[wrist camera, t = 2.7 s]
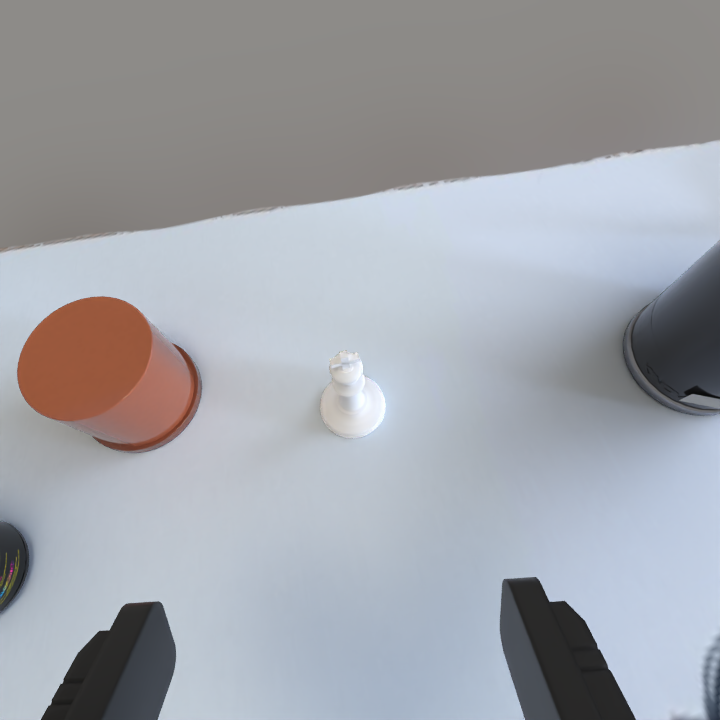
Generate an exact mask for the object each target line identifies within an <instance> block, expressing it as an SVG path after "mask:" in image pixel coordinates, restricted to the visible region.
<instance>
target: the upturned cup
mask: <svg viewBox="0 0 720 720" xmlns="http://www.w3.org/2000/svg"><path fill="white" fill-rule="evenodd" d="M17 377H18V384H19V388H20V390H21V393H22V395H23V397H24V399H25V400H26V402H27V403H28V404H29V405H30V406H31V407H32V408H33V409H34V410H35V411H36V412H38V413H40V414H41V415H43V416H45V417H48V418H50V419H53V420H55V421H58V422H60V423H62V424H65V425H67V426H70V427H72V428H74V429H77V430H79V431H82V432H84V433H86V434H89V435H91V436H92V437H93V438H94V439H95V440H97V441H98V442H99V443H101V444H103V445H104V446H106V447H109V448H111V449H114V450H117V451H121V452H126V453H140V452H146V451H150V450H153V449H156V448H158V447H161V446H163V445H165V444H166V443H168V442H170V441H171V440H173V439H174V438H175V437H177V436H178V435H179V434H180V433H181V432H182V431H183V430H184V429H185V428H186V426H187V425H188V424H189V423H190V421H191V420H192V418H193V416H194V414H195V413H196V411H197V408H198V405H199V402H200V398H201V390H202V386H201V377H200V373H199V371H198V368H197V366H196V364H195V362H194V361H193V360H192V358H191V357H190V356H189V355H188V354H187V353H186V352H185V351H184V350H183V349H181V348H180V347H179V346H177V345H175V344H173V343H171V342H170V341H169V340H168V339H167V338H166V337H165V336H164V335H163V334H162V333H161V332H160V331H159V330H158V329H157V328H156V327H155V326H154V325H153V324H152V323H151V322H150V321H149V320H148V319H147V318H146V317H145V316H144V315H143V314H142V313H141V312H140V311H139V310H138V309H137V308H136V307H134V306H133V305H131V304H129V303H127V302H125V301H123V300H120V299H117V298H111V297H90V298H84V299H80V300H77V301H74V302H71V303H69V304H67V305H65V306H63V307H61V308H59V309H57V310H56V311H54V312H53V313H51V314H50V315H49V316H48V317H46V318H45V319H44V320H43V321H42V322H41V323H40V324H39V325H38V326H37V327H36V328H35V329H34V331H33V332H32V333H31V335H30V336H29V338H28V339H27V341H26V343H25V345H24V347H23V349H22V352H21V354H20V358H19V362H18V369H17Z"/></svg>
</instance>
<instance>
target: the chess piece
mask: <svg viewBox="0 0 720 720" xmlns="http://www.w3.org/2000/svg"><path fill="white" fill-rule="evenodd" d="M329 360H330V367H329V370H330V374H331V376H332V382H331V383H330V384H329V385H328V386H327V387H326V389H325V390H324V392H323V394H322V397H321V403H320V411H321V416H322V419H323V421H324V423H325V424H326V426H327V427H328V428H329V429H330V430H331V431H332V432H334V433H335V434H337V435H339V436H341V437H345V438H360V437H363V436H366V435H368V434H370V433H371V432H373V431H374V430H375V429H376V428H377V427H378V426H379V425H380V423H381V421H382V420H383V417H384V414H385V399H384V396H383V393H382V391H381V389H380V388H379V386H378V385H377V384H376V383H375V382H374V381H373V380H371V379H370V378H368V377H366V376H364V375H363V373H362V371H363V365H362V362H361V360H360V359H359V355H358V352H356V353H348V352H347V350H345V351H341V352H339V354H338V355H336V356H335V357H334V358H330V359H329Z"/></svg>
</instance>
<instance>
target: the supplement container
mask: <svg viewBox="0 0 720 720" xmlns="http://www.w3.org/2000/svg"><path fill="white" fill-rule="evenodd" d="M28 566H29V551H28V546H27V543H26V541H25V539H24V537H23V536H22V534H21V533H20V532H19V531H18V530H17V529H16V528H15V527H14V526H12V525H11V524H9V523H6V522H3V521H0V613H1V612H2V611H3V610H4V609H5V608H6V607H7V606H8V605H9V604H10V603H11V602H12V601H13V600H14V598H15V597H16V596H17V594H18V593H19V591H20V589H21V587H22V585H23V583H24V581H25V578H26V575H27V572H28Z"/></svg>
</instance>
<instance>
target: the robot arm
mask: <svg viewBox="0 0 720 720" xmlns="http://www.w3.org/2000/svg"><path fill="white" fill-rule="evenodd" d="M623 345H624V355H625V359H626V362H627V365H628V367H629V370H630V372H631V373H632V375H633V377H634V378H635V380H636V381H637V382H638V384H639V385H640V386H641V387H642V388H643V389H644V390H645V391H646V392H647V393H648V394H649V395H650V396H652V397H653V398H654V399H656V400H657V401H659V402H660V403H662V404H664V405H665V406H667V407H669V408H672V409H674V410H677V411H680V412H683V413H687V414H692V415H702V416H704V415H716V414H720V240H719V241H718V242H717V243H716V244H715V245H714V246H713V247H712V248H711V249H709V250H708V251H707V252H706V253H705V254H704V255H703V256H702V257H701V258H700V259H699V260H698V261H696V262H695V263H694V264H693V265H692V266H691V267H690V268H689V269H688V270H687V271H686V272H685V273H683V274H682V275H681V276H680V277H679V278H678V279H677V280H676V281H675V282H674V283H673V284H672V285H670V286H669V287H668V288H667V289H666V290H665V291H664V292H663V293H662V294H660V295H659V296H658V297H657V298H656V299H655V300H654V301H653V302H652V303H650V304H649V305H647V306H646V307H644V308H643V309H642V310H641V311H640V312H639V313H638V314H637V315H636V316H635V317H634V318H633V319H632V320H631V322H630V323H629V325H628V327H627V329H626V332H625V336H624V344H623ZM500 635H501V641H502V646H503V651H504V654H505V658H506V661H507V664H508V667H509V670H510V673H511V677H512V680H513V683H514V686H515V689H516V692H517V695H518V699H519V702H520V705H521V708H522V711H523V714H524V717H525V720H636V719H635V717H634V715H633V713H632V711H631V709H630V707H629V705H628V703H627V701H626V699H625V698H624V696H623V694H622V692H621V690H620V688H619V686H618V684H617V682H616V680H615V678H614V676H613V674H612V672H611V671H610V670H609V669H608V665H607V663H606V661H605V659H604V657H603V655H602V653H601V651H600V650H598V647H597V644H596V642H595V640H594V638H593V636H592V634H591V632H590V630H589V628H588V626H587V624H586V622H585V621H584V620H583V619H582V618H581V617H580V616H579V615H578V614H577V613H576V612H575V611H574V610H573V609H572V608H571V607H570V606H569V605H568V604H567V603H566V602H565V601H559V602H549V600H548V598H547V596H546V594H545V591H544V589H543V587H542V585H541V583H540V581H539V580H538V579H537V578H536V577H530V578H515V579H504V580H503V583H502V597H501V613H500ZM175 662H176V648H175V643H174V640H173V636H172V633H171V630H170V627H169V624H168V620H167V617H166V614H165V611H164V608H163V605H162V603H161V602H159V601H158V602H143V603H128V604H125V605H124V606H123V607H122V608H121V610H120V612H119V613H118V615H117V617H116V619H115V621H114V623H113V625H112V627H111V629H110V630H109V631H99V632H98V633H97V634H96V635H95V636H94V637H93V638H92V639H91V640H90V641H89V642H88V643H87V644H86V645H85V646H84V647H83V649H82V650H81V651H80V652H79V653H78V654H77V656H76V658H75V659H74V661H73V663H72V665H71V667H70V668H69V670H68V672H67V674H66V676H65V677H64V682H63V684H60V686H59V688H58V690H57V692H56V693H55V695H54V697H53V699H52V704H51V705H50V706H48V708H47V710H46V711H45V713H44V715H43V717H42V719H41V720H158V717H159V714H160V711H161V708H162V705H163V702H164V699H165V696H166V694H167V691H168V688H169V685H170V682H171V679H172V676H173V673H174V668H175Z"/></svg>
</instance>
